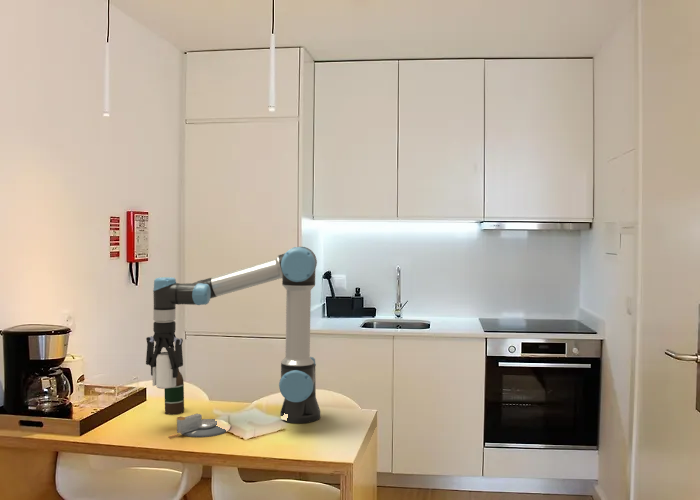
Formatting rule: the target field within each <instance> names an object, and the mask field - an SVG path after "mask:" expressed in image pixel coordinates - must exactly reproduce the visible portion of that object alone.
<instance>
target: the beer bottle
mask: <svg viewBox="0 0 700 500" xmlns="http://www.w3.org/2000/svg"><path fill="white" fill-rule="evenodd" d="M179 368H180V367H179ZM179 368H178V377H176V386H174V387H172V388H167V389H164V414H165V415H169V416H174V415H176V416H177V415H180V414H183V413H184V412H185V390H184V389H185V387H184V386H185V384H184V383H185V381H184V377H183V375H182V373H181V371H180V369H179Z"/></svg>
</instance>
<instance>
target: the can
mask: <svg viewBox="0 0 700 500" xmlns="http://www.w3.org/2000/svg"><path fill="white" fill-rule="evenodd" d="M171 368H172V366H171V363H170V359H169V355H168V352H167V351H161V353H160V354H158V356H157V358H156V385H155V387H157V388H158V389H163V390H165V389H167V388H171V387H170V369H171Z"/></svg>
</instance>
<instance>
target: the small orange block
mask: <svg viewBox="0 0 700 500" xmlns="http://www.w3.org/2000/svg"><path fill="white" fill-rule="evenodd" d="M178 437H179V433H173V434H170V435H168V439H170V440H171V439H174V438H178Z"/></svg>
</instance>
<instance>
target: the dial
mask: <svg viewBox="0 0 700 500" xmlns="http://www.w3.org/2000/svg"><path fill="white" fill-rule="evenodd" d="M202 416H203V415H202V414H201V413H193V414H190V415H187V416H177V417H176V434H181V435H182V434H183V433H187V432H190V431H193V430H197V429H209V428H213V427H215V426H216V425H217V421H215V420H210V419H211V418H205V419H206V420H202Z"/></svg>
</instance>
